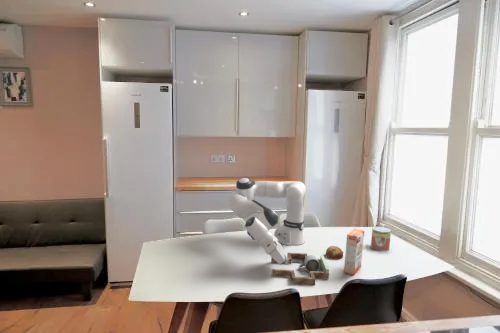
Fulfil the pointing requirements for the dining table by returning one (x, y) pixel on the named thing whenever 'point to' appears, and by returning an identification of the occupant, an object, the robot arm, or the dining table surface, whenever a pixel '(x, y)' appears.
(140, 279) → the dining table surface
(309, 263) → the ceramic mug
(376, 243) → the canned food
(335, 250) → the bread roll
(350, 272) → the cracker box
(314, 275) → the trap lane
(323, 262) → the sage end wall
